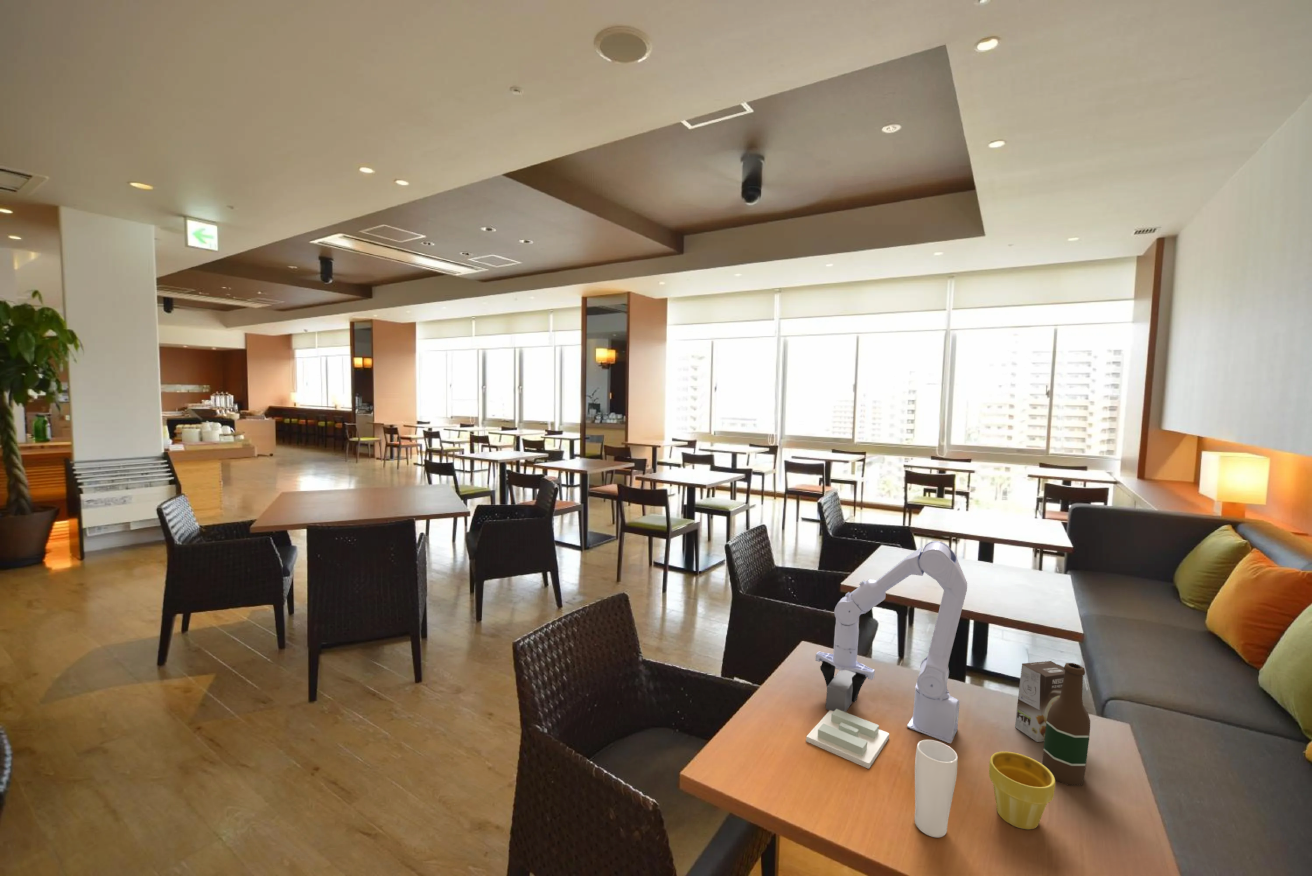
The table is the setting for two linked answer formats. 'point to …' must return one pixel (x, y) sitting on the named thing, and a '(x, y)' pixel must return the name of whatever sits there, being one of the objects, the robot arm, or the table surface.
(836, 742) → the stand
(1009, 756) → the plant pot
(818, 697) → the table surface
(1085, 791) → the table surface
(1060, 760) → the beer bottle
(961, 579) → the robot arm
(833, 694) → the grey upright block
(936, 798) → the drinking glass
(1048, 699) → the coffee box
